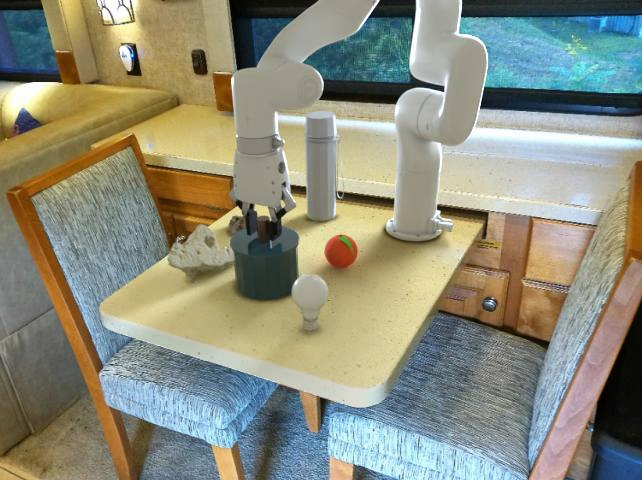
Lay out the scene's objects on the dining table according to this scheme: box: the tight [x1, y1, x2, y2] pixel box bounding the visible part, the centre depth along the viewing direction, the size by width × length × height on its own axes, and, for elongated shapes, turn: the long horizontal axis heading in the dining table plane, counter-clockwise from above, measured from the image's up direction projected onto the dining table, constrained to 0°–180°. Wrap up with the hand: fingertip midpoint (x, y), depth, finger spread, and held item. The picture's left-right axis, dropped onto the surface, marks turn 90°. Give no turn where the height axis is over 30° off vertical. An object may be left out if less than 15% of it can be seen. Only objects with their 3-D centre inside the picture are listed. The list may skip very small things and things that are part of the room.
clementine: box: [324, 234, 359, 269], centre depth 124 cm, size 8×7×7 cm
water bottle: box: [304, 110, 345, 222], centre depth 141 cm, size 9×8×25 cm
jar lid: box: [229, 215, 300, 259], centre depth 115 cm, size 14×14×6 cm
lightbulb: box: [291, 273, 329, 332], centre depth 104 cm, size 6×6×11 cm
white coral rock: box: [167, 223, 234, 281], centre depth 126 cm, size 15×7×15 cm
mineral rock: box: [228, 215, 246, 236], centre depth 143 cm, size 11×4×8 cm
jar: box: [233, 245, 300, 301], centre depth 119 cm, size 13×13×10 cm
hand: (264, 234), depth 116 cm, fingers open, 4 cm apart
